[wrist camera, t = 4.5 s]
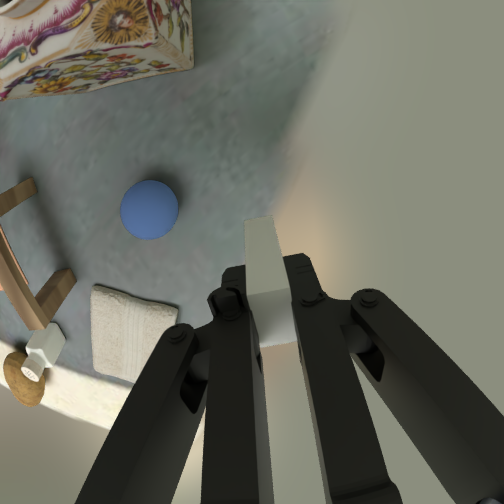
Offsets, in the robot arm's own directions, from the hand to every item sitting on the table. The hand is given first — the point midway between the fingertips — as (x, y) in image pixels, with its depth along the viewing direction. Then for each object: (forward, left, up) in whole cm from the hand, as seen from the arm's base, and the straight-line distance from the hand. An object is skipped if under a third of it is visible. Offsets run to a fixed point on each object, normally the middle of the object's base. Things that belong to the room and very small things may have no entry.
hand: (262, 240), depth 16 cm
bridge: (0, -26, -13) cm, 29 cm away
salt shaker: (+15, -35, -13) cm, 40 cm away
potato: (+23, -49, -13) cm, 55 cm away
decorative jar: (-18, -8, -13) cm, 24 cm away
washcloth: (+18, -21, -14) cm, 31 cm away
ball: (0, -10, -10) cm, 14 cm away
